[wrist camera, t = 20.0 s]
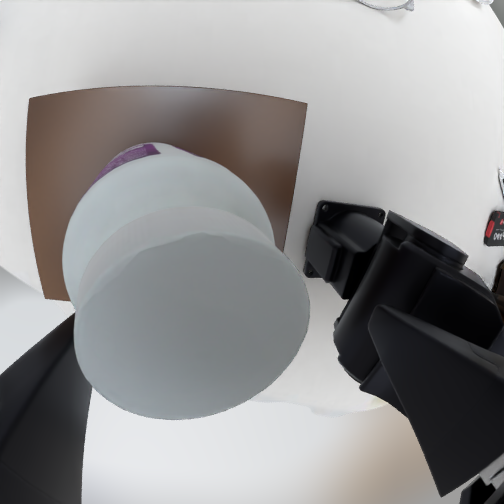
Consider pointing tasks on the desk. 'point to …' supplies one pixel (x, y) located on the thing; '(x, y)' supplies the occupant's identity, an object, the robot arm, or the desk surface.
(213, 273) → the pill bottle
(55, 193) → the lid
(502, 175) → the pen
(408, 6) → the eyeglasses
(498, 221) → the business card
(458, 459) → the robot arm
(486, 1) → the toy creature
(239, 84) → the desk surface
